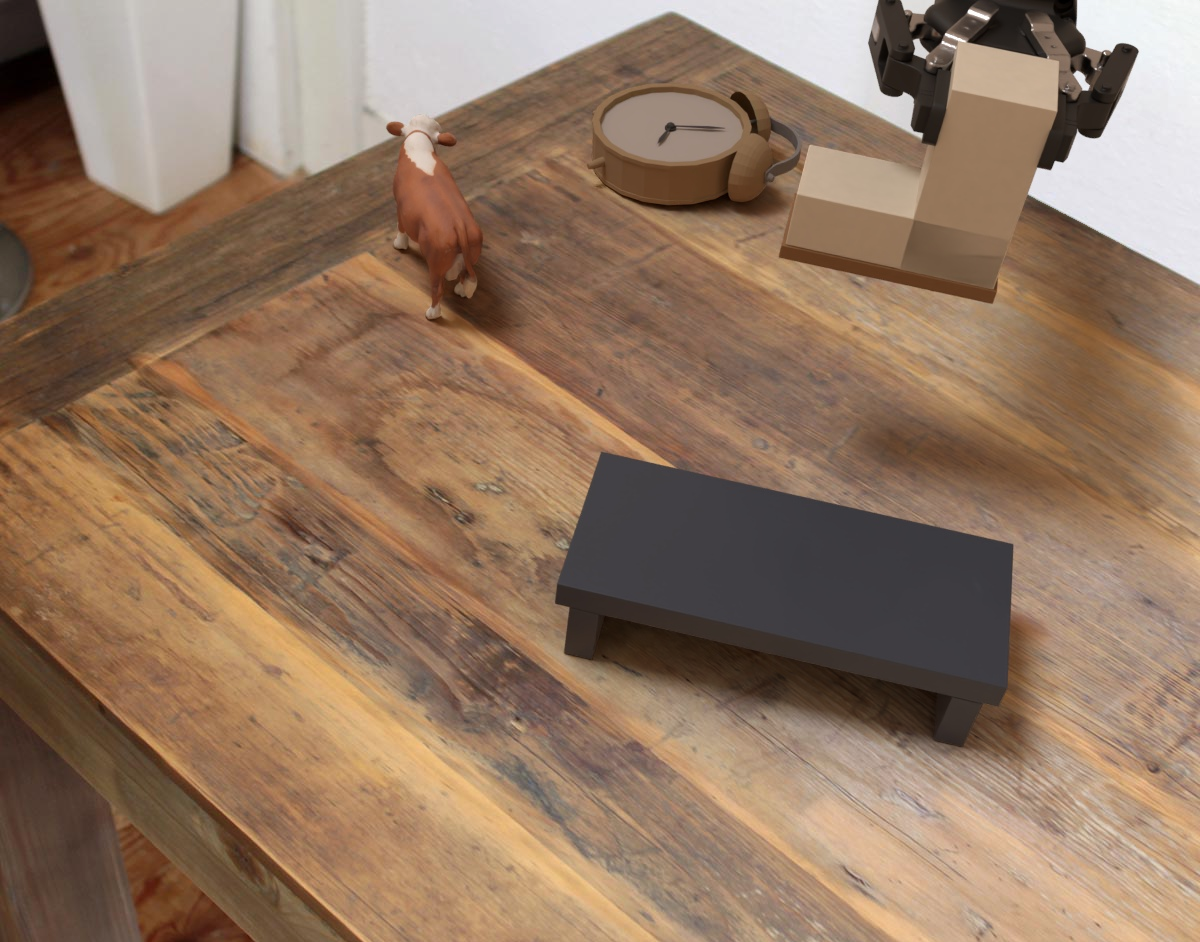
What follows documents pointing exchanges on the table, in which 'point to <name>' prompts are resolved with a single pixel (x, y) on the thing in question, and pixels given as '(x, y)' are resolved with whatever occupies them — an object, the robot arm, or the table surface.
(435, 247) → the bull figurine
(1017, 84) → the boot
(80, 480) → the table surface
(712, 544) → the dark grey low platform
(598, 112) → the alarm clock
